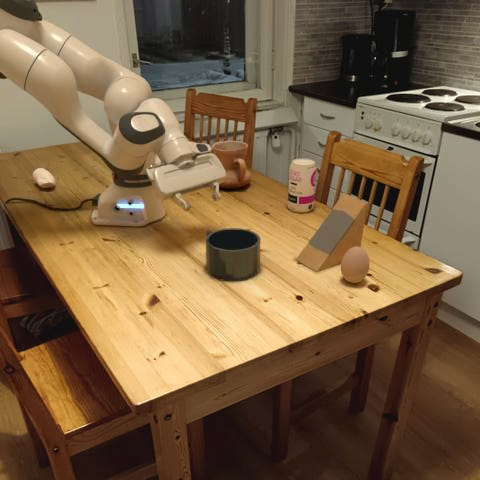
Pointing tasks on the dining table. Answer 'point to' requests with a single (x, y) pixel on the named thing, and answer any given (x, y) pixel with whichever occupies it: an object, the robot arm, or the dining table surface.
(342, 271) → the egg
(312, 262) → the sandwich container
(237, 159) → the ceramic jug
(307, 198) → the supplement can
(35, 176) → the roll
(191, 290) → the dining table surface
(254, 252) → the coffee mug
